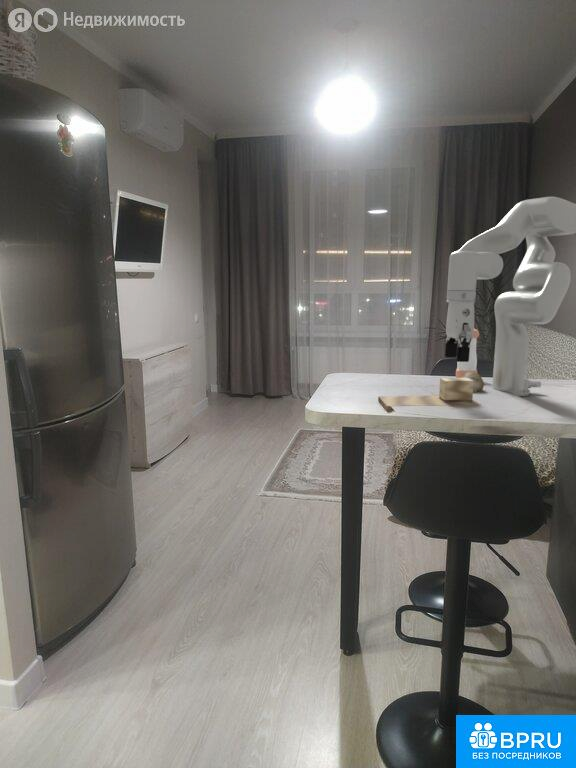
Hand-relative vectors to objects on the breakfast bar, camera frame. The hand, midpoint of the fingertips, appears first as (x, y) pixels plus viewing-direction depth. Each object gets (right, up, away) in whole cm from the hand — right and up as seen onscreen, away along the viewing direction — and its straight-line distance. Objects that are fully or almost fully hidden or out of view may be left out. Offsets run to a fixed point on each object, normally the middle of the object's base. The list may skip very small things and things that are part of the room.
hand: (456, 359), depth 144 cm
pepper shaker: (+17, -6, +41) cm, 44 cm away
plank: (-7, -13, +3) cm, 15 cm away
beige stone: (+8, -11, +16) cm, 21 cm away
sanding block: (+1, -12, +3) cm, 12 cm away
